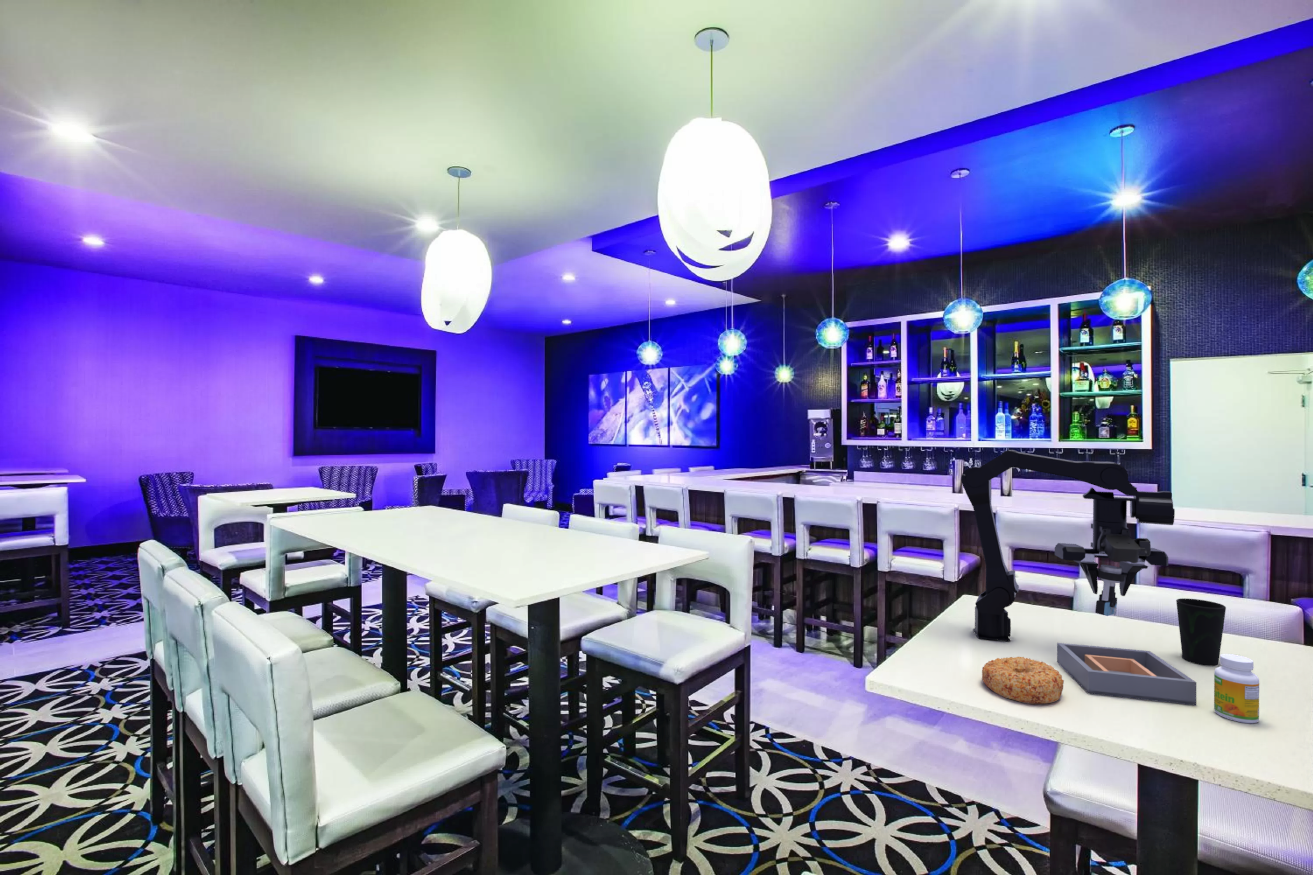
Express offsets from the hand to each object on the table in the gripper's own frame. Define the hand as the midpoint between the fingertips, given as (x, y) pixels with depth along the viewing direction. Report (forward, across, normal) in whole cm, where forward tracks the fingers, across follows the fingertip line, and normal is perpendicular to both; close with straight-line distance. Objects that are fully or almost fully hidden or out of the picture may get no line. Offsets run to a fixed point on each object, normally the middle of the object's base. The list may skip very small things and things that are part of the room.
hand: (1108, 594), depth 128 cm
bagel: (+13, -23, -26) cm, 37 cm away
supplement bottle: (+13, +8, -27) cm, 31 cm away
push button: (+4, 0, 0) cm, 4 cm away
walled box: (+13, -4, -16) cm, 21 cm away
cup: (+13, +17, +2) cm, 22 cm away
